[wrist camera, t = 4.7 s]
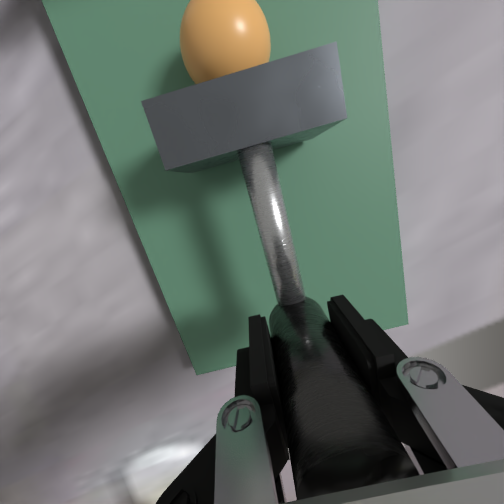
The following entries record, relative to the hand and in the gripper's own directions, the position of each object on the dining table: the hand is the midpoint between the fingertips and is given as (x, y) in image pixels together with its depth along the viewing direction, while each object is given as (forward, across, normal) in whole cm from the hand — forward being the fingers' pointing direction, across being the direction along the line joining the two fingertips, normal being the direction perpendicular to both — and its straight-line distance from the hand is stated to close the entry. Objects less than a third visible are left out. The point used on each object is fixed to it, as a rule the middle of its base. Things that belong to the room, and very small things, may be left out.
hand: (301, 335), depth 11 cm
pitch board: (+7, 0, -7) cm, 10 cm away
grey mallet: (+5, 0, -5) cm, 7 cm away
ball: (+4, 0, -13) cm, 13 cm away
